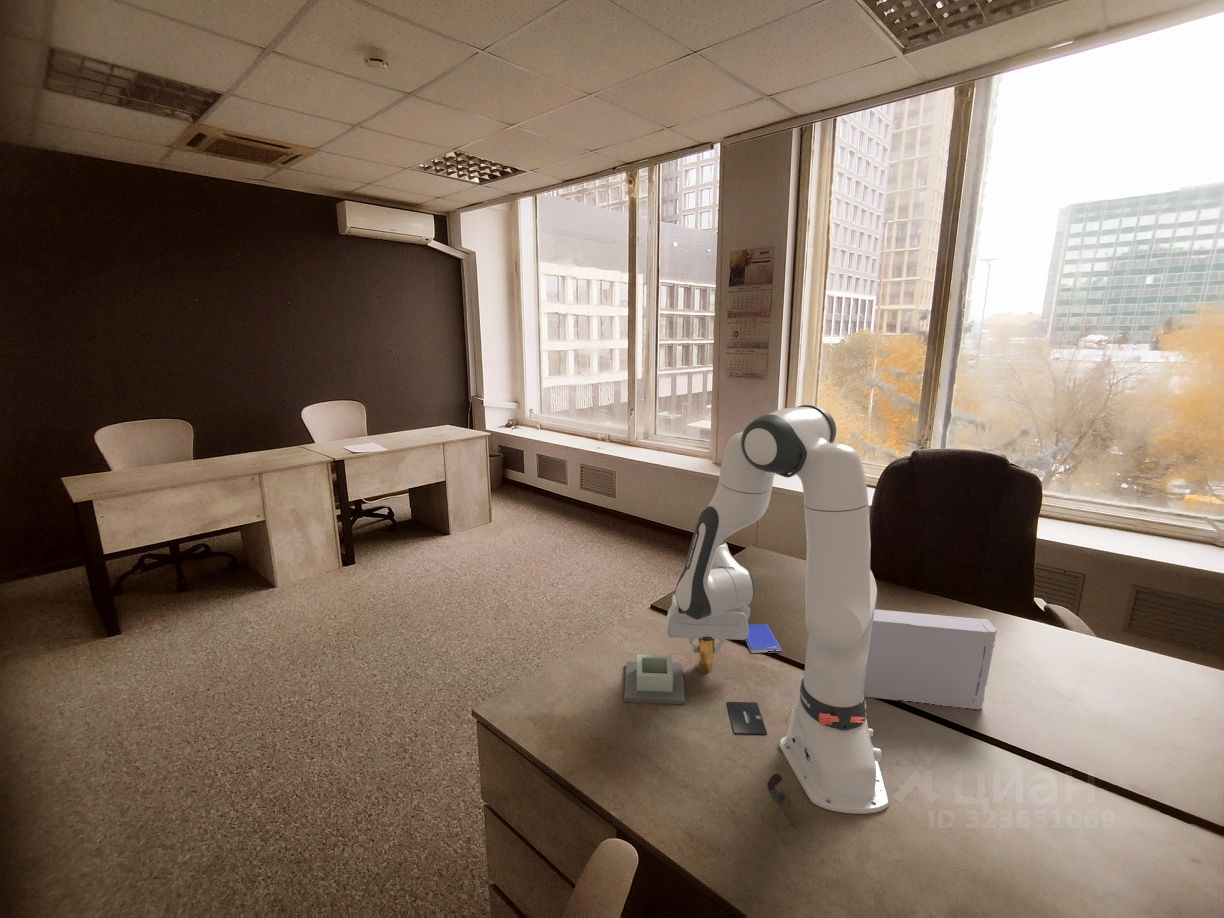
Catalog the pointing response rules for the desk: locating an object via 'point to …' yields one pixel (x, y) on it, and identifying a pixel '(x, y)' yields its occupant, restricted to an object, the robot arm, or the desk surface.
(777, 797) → the dark curved piece
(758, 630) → the hard drive
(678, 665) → the docking plate
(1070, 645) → the desk surface
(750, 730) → the solid state drive
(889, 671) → the game console
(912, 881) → the desk surface
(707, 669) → the bottle
